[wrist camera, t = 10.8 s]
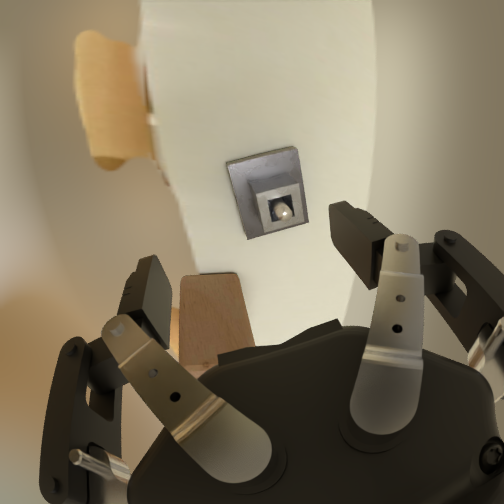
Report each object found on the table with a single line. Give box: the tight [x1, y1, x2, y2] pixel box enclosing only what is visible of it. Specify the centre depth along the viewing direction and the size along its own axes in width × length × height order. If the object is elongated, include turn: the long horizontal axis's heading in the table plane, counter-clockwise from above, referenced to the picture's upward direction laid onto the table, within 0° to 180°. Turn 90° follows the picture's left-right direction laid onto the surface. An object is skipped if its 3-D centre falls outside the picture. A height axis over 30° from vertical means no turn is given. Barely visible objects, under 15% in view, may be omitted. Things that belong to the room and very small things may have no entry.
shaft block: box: [226, 146, 309, 240], centre depth 37 cm, size 12×10×9 cm
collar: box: [249, 173, 304, 233], centre depth 37 cm, size 6×6×5 cm
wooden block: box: [179, 273, 255, 379], centre depth 41 cm, size 10×10×20 cm
